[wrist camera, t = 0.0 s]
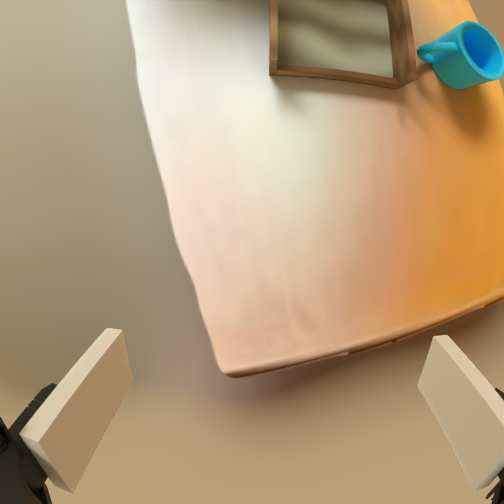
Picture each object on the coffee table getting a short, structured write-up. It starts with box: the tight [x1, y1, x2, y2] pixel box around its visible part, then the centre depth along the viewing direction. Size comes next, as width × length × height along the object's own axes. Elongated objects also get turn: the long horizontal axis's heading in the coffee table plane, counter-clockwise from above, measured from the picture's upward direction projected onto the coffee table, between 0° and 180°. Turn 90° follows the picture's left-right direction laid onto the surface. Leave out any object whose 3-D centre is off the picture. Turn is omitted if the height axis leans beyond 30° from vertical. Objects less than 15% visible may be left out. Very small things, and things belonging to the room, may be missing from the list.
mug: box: [417, 21, 504, 89], centre depth 27 cm, size 12×8×8 cm
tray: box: [269, 0, 417, 89], centre depth 28 cm, size 15×17×6 cm
